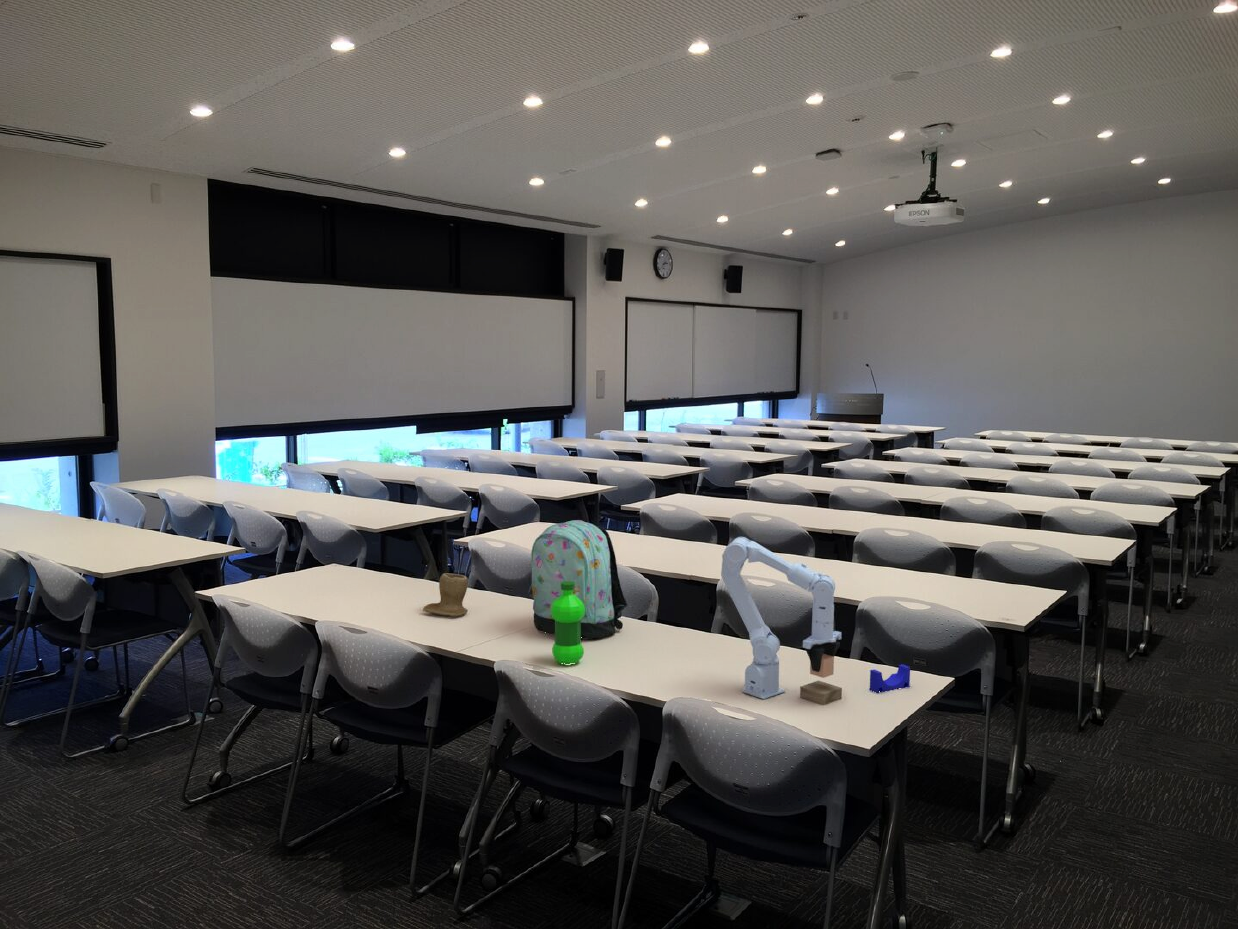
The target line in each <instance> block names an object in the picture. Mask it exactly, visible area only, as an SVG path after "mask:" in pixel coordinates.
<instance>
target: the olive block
mask: <svg viewBox="0 0 1238 929" xmlns="http://www.w3.org/2000/svg"><path fill="white" fill-rule="evenodd" d="M842 692H843V689H842V687H841V686H838V685H835V684H831V683H828V682H824V681H820V680H816V681H813V682H810V683H808V684H807V683H806V684H804V685H801V686H800V688H799V697H800V699H801V698H802V699H805V700H807V701H809V702H813V703H816V704H819V705H822V706H826V705H828V704H830V703H833V702H836V701H838V699H839V700H841V699H842V698H843V696H842V694H843V693H842Z"/></svg>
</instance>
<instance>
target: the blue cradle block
mask: <svg viewBox="0 0 1238 929" xmlns="http://www.w3.org/2000/svg"><path fill="white" fill-rule="evenodd" d="M869 672H870V673H869V674H870V675H869V691H871V690H872V691H871V692H873V691H874V692H873V693H875V692H876V693H875V694H880V693H879V691H880V692H882V693H886V692H885V691H887V692H891V691H890V690H892V691H895V690H894V689H897V690H900V689H899V688H902V689H906V688H905V687H907V688H910V685H911V683H910V682H911V681H910V680H911V667H910V666H907V665H905V664H898V669H897V672H896V673H891V675H890V676H888V677H887V678H886V679H883V673H882V671H879V670H877V669H874V668H873V669H870V670H869Z"/></svg>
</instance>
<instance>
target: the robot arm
mask: <svg viewBox="0 0 1238 929" xmlns="http://www.w3.org/2000/svg"><path fill="white" fill-rule="evenodd" d="M721 557H722V560H721V572H720V575H721V579H722V580H723V583H724V585H725V587H726V589H727V591H728V593H729V595H730V598H731V599H732V601H733V603H734V605H735V607H736V609H737V612H738V613H739V615H740V617H741V620H742V621H743V624H744V625H745V627H746V628H745V629H746V630H747V632H748V634H749V636H748V637H749V641H750V645H751V647H752V656H753V658H752V662H751V663H750V664H749V665H747V666H746V668H745V670H744V689H742V693H745V694H748V695H751V696H753V697H756V698H759V699H762V700H765V699H768V698H772V697H773V696H774V697H775V696H777V695H780V694H783V693H785V692H786V690H785V689H783V688H780V687H779V684H780V658H779V657H778V655H777V654H778V652H779V651H780V647H781V642H780V640H779V638H778V637H777V636H776V635H775V634H774V633H773V632H772V631H771V629H770V627H769V626H768V625H767V624H765V621H764V619H763V618H762V615H761V614H760V612H759V610H758V607H757V606H756V605H757V604H756V603H755V601H754V599H753V598H752V595H751V593H750V591H749V589H748V587H747V585H746V583H745V581H744V579H743V576H742V574H741V573H742V570H743V567H744V565H745V562H746V561H747V560H748V561H747V563H748V564H749V563H757V562H760V563H763V564H764V565H766V566H768V567H770V568H772V569H774V570H776V571H778V572H781V573H782V574H784V575H786V578H787V581H789V582H790V583H791V584H794V585H795V586H797V587H799V588H801V589H803V590H805V591H806V592H809V593H811V595H812V596H813V602H812V614H811V615H812V617H811V618H812V619H811V635H810V636H808V637H807V638H806V639H803V640H802V648H804V649H805V650H804V651H805V653H807V655H808V658H809V661H810V662H811V667H812V670H813V671H816V672H819V671H820V668H821V659H822V655H823V654H826V655H830V656H833V657H834V658H835V656H836V654H837V651H838V649H839V648H840V646H841V642H839V641H837V640H842V631H839V630H838V631H837V630H834V620H835V619H834V617H835V616H834V615H835V614H834V613H835V604H834V602H835V598H834V594H835V590H836V583H835V581H834V580H833V579H832V577H830V576H829V575H827V574H823V572H821V571H819V572H816V571H815V570H813V569H811V568H809V567H807V566H808V565H807V563H805V562H802V563H800V562H795V563H791V562H789V561H787V560H786V559H784V558H782V557H781V556H779V555H778V554H775V553H774V552H772V551H771V550H770V549H768V548H766V547H764V546H762V545H761V544H759V543H757V542H756V541H753V540H750V539H748V538H747V537H746V536H738V537H736V538H734V539H733V540H732V541H731V542H730V543H729V544H728V545H727V546H726V547H725V549H724V550H723V553H722V554H721ZM810 662H809V663H810Z"/></svg>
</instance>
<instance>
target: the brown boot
mask: <svg viewBox="0 0 1238 929" xmlns="http://www.w3.org/2000/svg"><path fill="white" fill-rule="evenodd" d="M468 584H469V581H468V577H467V576H466V575H462V574H457V573H449V572H446V573H445V572H444V573H442V574H441V576H440V578H439V581H438V585H439V586H438V588H439V595H440V601H439V602H432V603H428V604H426V605H425V606H424V607H423V608H422V612H425V613H430V614H434V613H436V614H435V615H439V614H442V615H441V616H446V615H449V616H448V617H460V616H459V615H461V616H463V615H462V614H464V615H466V614H467V613H468V611H469V610H468V609H467V608H465V607H464V606H463V605H464V604H463V601H464V599H465V596H466V594H467V590H468ZM465 613H466V614H465Z"/></svg>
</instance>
